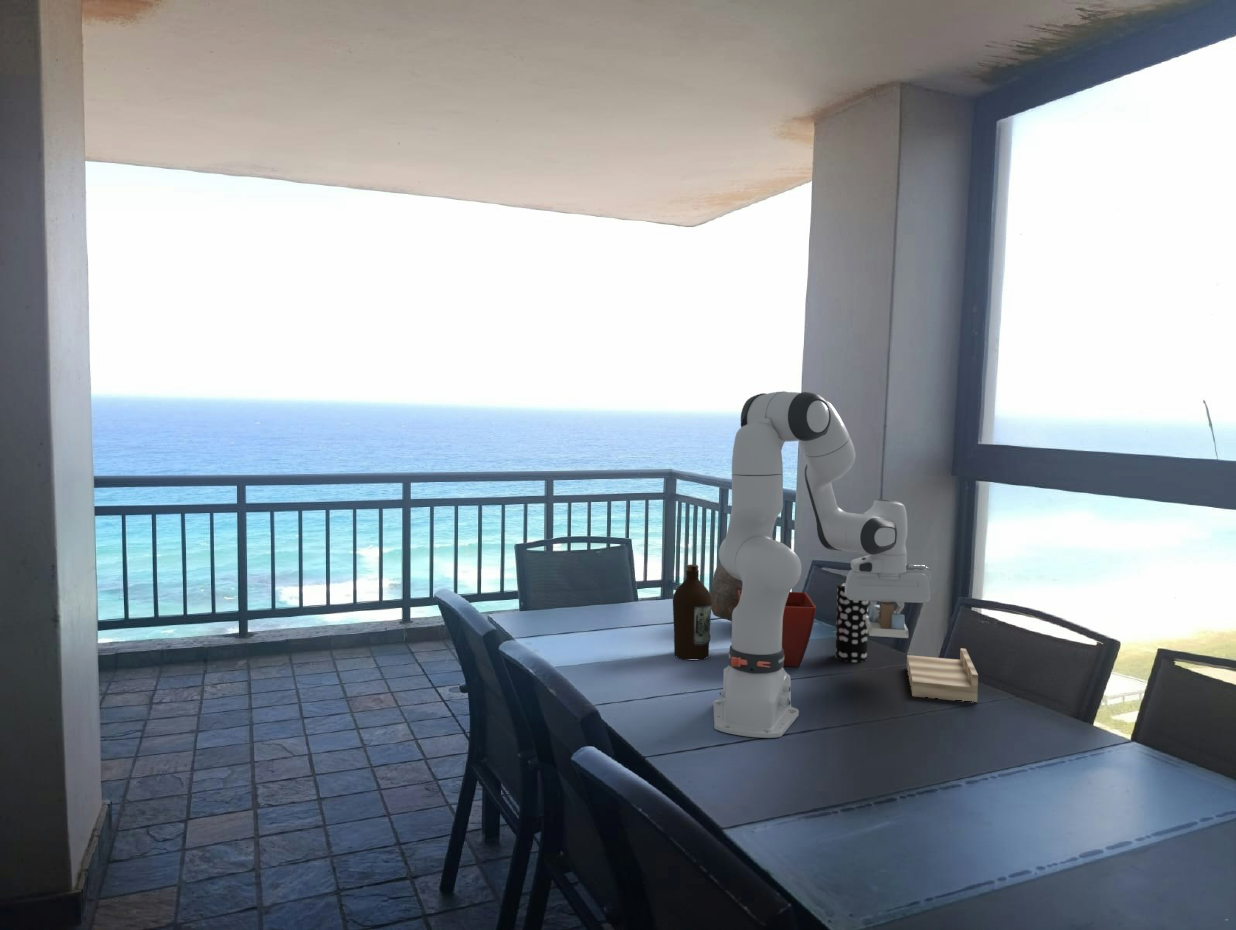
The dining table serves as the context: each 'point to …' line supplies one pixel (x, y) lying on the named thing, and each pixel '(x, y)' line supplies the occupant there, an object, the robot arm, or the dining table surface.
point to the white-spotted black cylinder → (851, 627)
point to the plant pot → (796, 626)
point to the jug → (724, 593)
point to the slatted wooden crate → (943, 677)
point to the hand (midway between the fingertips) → (886, 618)
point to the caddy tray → (885, 632)
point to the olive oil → (692, 617)
